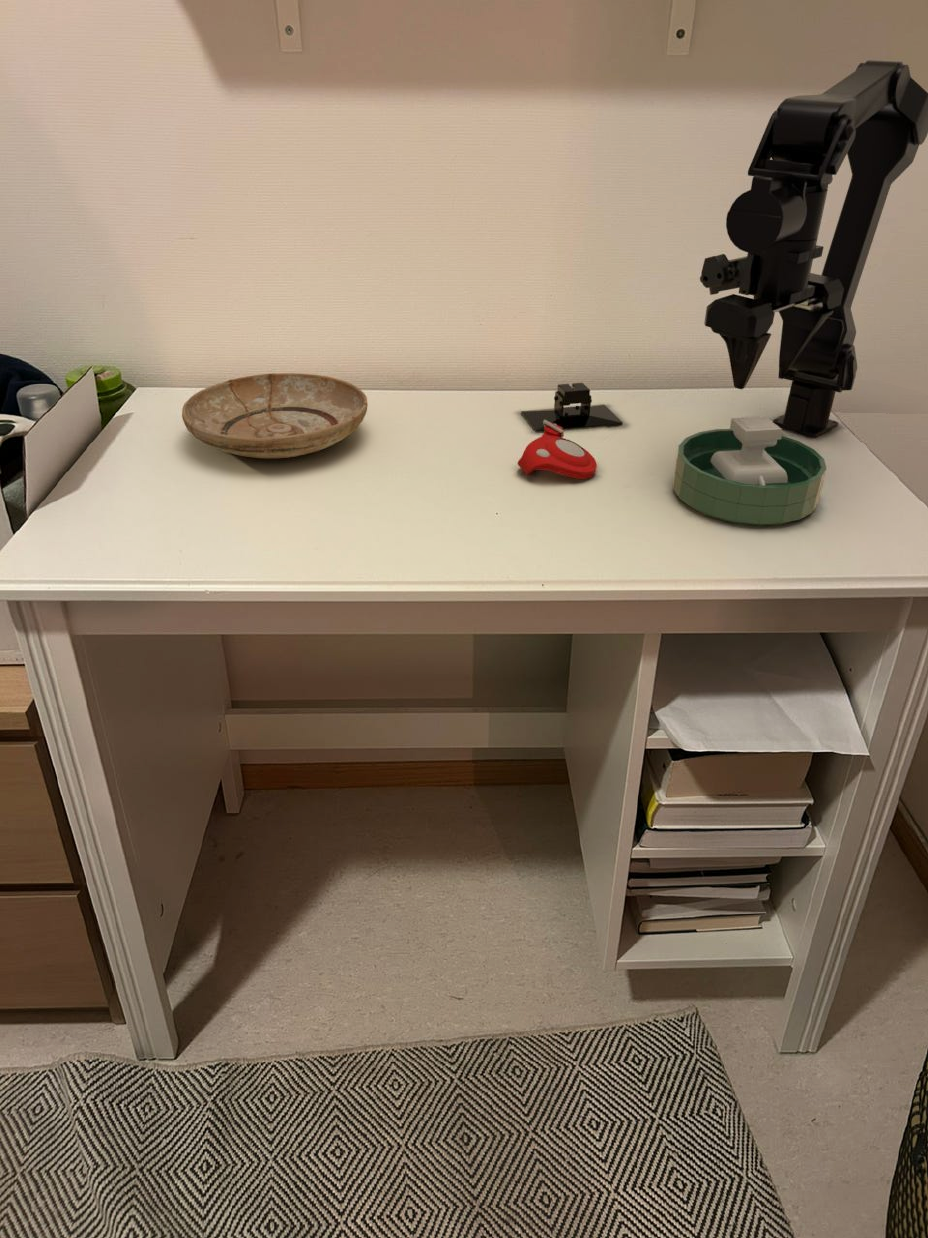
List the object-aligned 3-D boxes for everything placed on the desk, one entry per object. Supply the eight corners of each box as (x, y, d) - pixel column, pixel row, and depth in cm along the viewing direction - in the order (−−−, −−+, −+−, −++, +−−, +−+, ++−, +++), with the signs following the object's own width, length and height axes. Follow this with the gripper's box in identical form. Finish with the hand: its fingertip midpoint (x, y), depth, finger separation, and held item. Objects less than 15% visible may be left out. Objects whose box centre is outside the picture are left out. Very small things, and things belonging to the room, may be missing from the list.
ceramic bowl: (347, 397, 131) (345, 363, 128) (388, 463, 113) (387, 425, 110) (180, 414, 125) (174, 379, 122) (195, 487, 107) (188, 447, 104)
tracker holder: (616, 465, 110) (554, 465, 105) (600, 495, 113) (539, 496, 107) (560, 411, 117) (499, 408, 111) (547, 441, 120) (487, 439, 114)
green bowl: (725, 455, 116) (732, 418, 113) (842, 499, 106) (853, 459, 103) (644, 492, 107) (649, 452, 104) (764, 544, 97) (773, 501, 94)
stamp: (788, 506, 103) (804, 436, 99) (732, 510, 102) (746, 439, 98) (755, 472, 111) (768, 405, 106) (702, 475, 110) (714, 408, 105)
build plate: (604, 407, 130) (607, 375, 127) (623, 426, 124) (628, 393, 121) (520, 413, 127) (522, 380, 125) (536, 433, 121) (538, 399, 119)
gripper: (771, 211, 107) (747, 344, 116) (673, 235, 97) (655, 379, 105) (860, 227, 100) (828, 367, 109) (765, 254, 90) (738, 406, 99)
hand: (761, 378), depth 106 cm, fingers open, 9 cm apart
